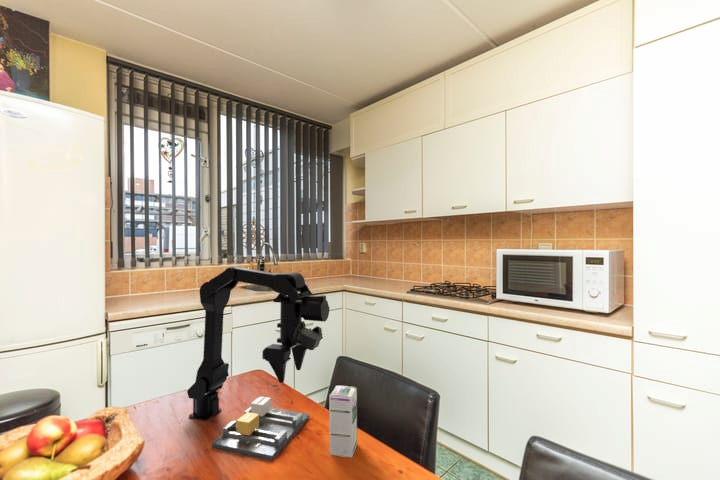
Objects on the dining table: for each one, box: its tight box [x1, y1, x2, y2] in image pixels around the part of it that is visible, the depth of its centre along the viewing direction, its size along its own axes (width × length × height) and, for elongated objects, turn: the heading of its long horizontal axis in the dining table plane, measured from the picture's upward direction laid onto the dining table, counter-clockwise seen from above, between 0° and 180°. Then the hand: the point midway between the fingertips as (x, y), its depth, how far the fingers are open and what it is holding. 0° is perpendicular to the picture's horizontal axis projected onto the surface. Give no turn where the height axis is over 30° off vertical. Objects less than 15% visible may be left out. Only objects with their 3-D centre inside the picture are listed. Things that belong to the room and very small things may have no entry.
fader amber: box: [236, 412, 259, 436], centre depth 85 cm, size 4×4×5 cm
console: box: [211, 406, 310, 462], centre depth 89 cm, size 17×20×3 cm
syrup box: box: [328, 385, 358, 458], centre depth 81 cm, size 6×6×14 cm
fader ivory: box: [250, 396, 272, 417], centre depth 94 cm, size 4×4×5 cm
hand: (290, 375), depth 90 cm, fingers open, 9 cm apart
